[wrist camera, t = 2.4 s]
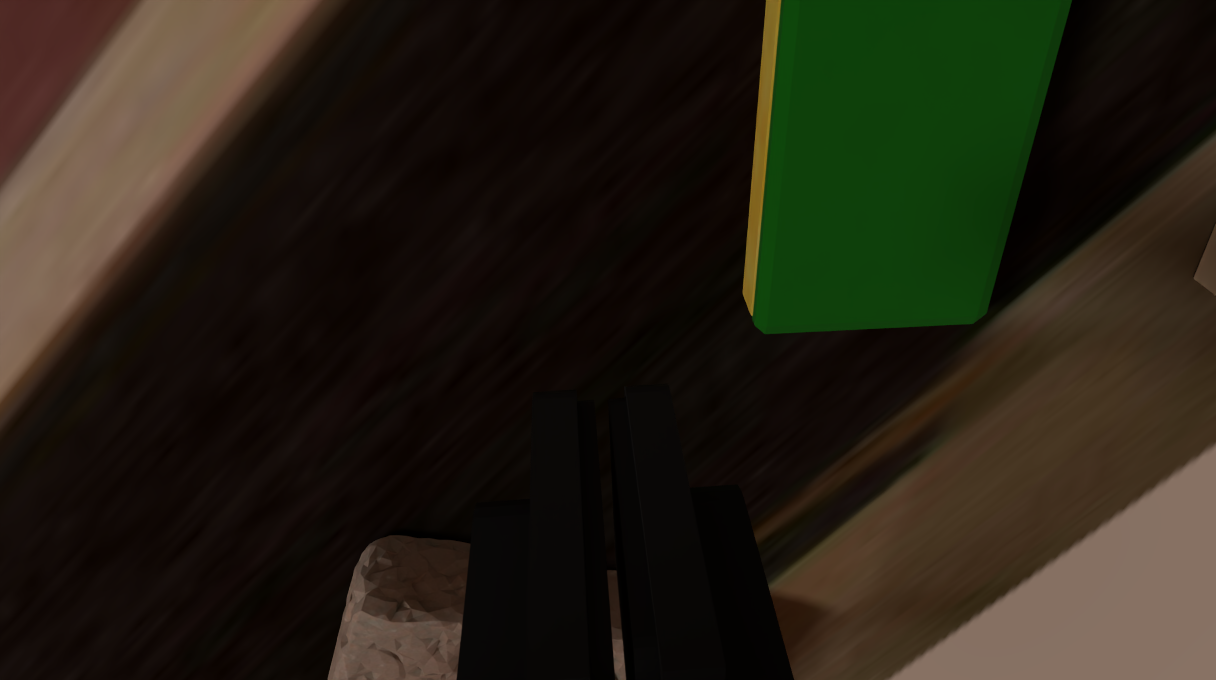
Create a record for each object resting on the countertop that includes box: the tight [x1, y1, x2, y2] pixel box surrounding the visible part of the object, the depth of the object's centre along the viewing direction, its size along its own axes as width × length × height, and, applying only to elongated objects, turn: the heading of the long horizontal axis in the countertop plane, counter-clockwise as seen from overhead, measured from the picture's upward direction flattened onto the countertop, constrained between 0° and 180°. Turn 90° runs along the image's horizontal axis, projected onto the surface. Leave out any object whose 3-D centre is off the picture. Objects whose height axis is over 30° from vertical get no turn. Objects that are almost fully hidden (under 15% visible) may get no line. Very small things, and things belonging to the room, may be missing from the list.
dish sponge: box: [743, 0, 1072, 334], centre depth 22 cm, size 7×14×2 cm, turn 1°
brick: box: [328, 535, 626, 680], centre depth 33 cm, size 17×8×5 cm, turn 71°
